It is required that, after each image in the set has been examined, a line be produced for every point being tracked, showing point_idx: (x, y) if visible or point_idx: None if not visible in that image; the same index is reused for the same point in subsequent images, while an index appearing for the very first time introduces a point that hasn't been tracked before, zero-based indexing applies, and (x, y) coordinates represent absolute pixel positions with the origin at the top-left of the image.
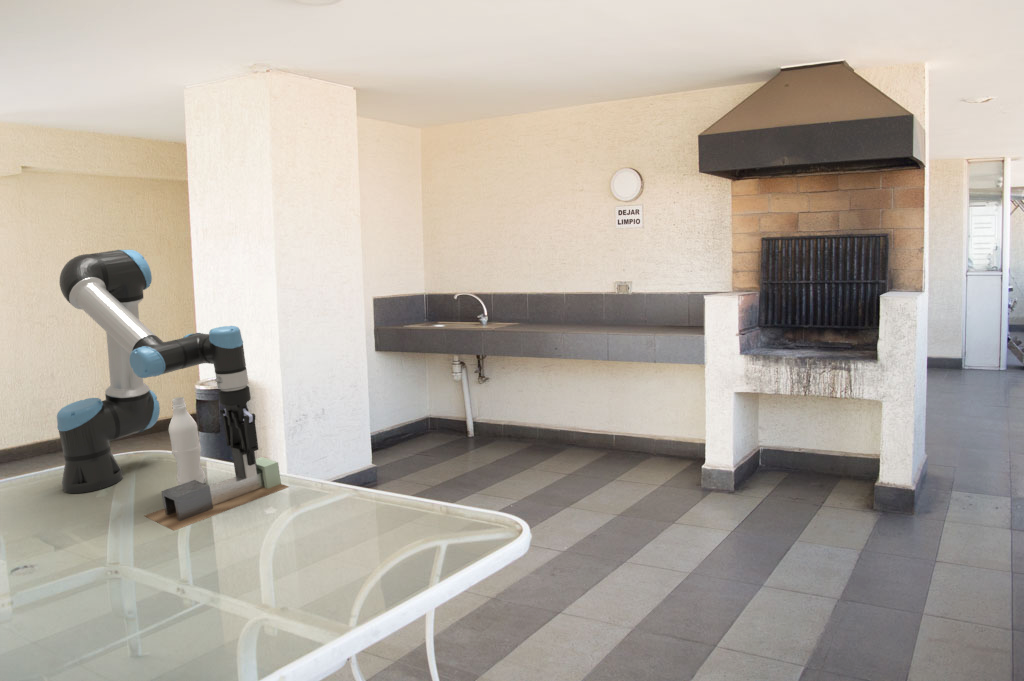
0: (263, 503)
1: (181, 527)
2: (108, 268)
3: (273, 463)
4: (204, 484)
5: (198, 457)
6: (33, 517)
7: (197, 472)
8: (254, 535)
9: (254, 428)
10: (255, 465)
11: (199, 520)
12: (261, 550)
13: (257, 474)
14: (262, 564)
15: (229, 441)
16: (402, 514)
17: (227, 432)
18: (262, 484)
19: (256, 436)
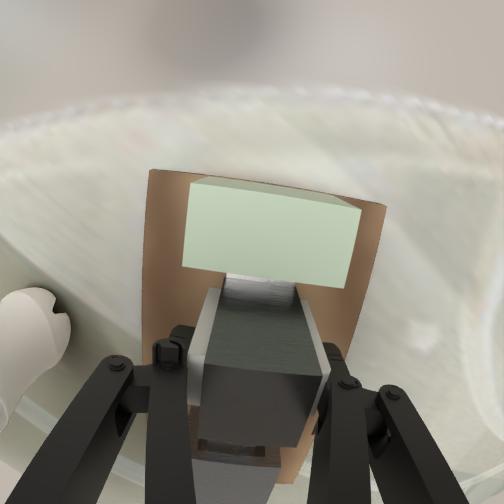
0: (372, 317)
1: (296, 475)
2: None
3: (354, 235)
4: (253, 468)
5: (12, 360)
6: (8, 455)
7: (47, 349)
8: (454, 413)
9: (459, 502)
10: (314, 322)
11: (305, 453)
12: (486, 423)
13: (295, 288)
14: (500, 434)
15: (129, 423)
16: None
17: (108, 473)
18: None
19: (437, 450)
